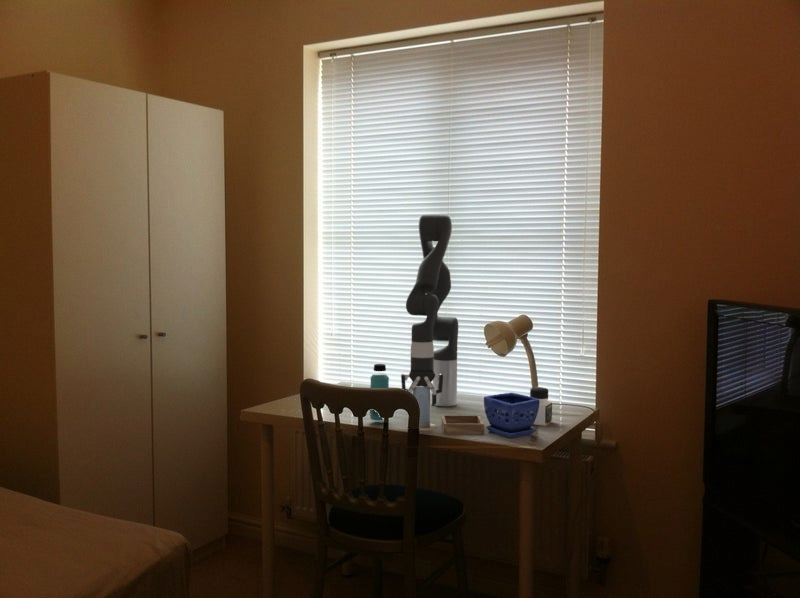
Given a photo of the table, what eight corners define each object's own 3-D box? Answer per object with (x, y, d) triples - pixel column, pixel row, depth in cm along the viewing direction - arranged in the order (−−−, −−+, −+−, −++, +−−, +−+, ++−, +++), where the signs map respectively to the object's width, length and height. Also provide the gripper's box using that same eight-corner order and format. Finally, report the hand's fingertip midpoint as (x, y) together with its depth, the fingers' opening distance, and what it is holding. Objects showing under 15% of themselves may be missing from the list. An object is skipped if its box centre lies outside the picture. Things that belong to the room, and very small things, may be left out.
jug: (429, 424, 241) (429, 385, 241) (430, 428, 234) (430, 388, 233) (413, 424, 241) (412, 385, 240) (413, 429, 233) (413, 388, 233)
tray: (441, 425, 241) (441, 415, 241) (479, 425, 242) (479, 415, 241) (444, 435, 229) (444, 424, 229) (483, 435, 229) (484, 424, 229)
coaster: (406, 424, 243) (406, 422, 243) (436, 424, 243) (436, 422, 243) (406, 431, 233) (406, 430, 233) (437, 431, 233) (437, 430, 233)
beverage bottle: (378, 419, 250) (378, 361, 248) (393, 422, 245) (393, 364, 244) (365, 423, 245) (365, 364, 243) (380, 426, 240) (380, 366, 239)
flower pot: (541, 435, 229) (541, 398, 228) (510, 442, 221) (511, 403, 221) (511, 427, 240) (512, 391, 239) (481, 433, 232) (481, 396, 231)
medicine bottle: (545, 426, 242) (546, 390, 241) (525, 423, 245) (525, 388, 244) (552, 421, 248) (552, 387, 247) (532, 419, 251) (532, 385, 250)
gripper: (443, 353, 240) (443, 403, 241) (400, 353, 240) (399, 403, 241) (445, 356, 233) (444, 408, 234) (400, 356, 233) (399, 408, 234)
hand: (421, 405), depth 238 cm, fingers open, 6 cm apart
